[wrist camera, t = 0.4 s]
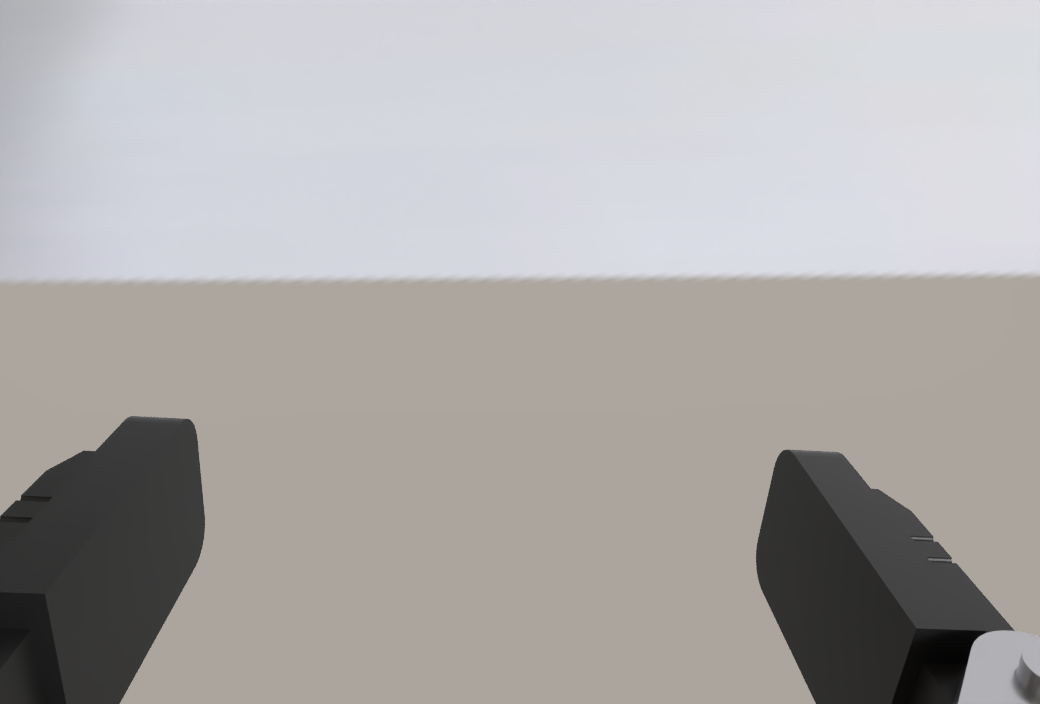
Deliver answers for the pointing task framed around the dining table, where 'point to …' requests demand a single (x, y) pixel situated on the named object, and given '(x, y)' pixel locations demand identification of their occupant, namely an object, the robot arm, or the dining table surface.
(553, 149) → the dining table surface
